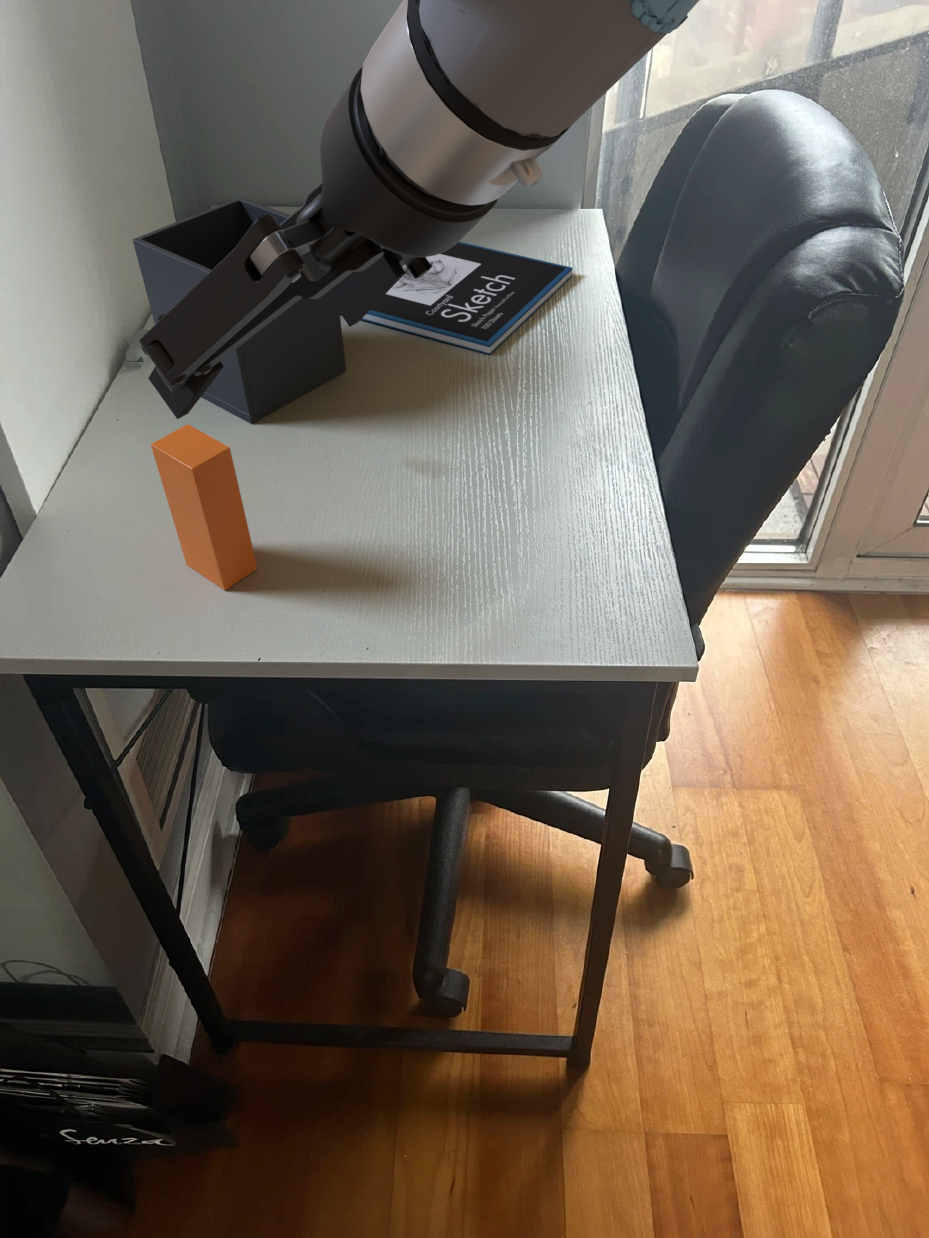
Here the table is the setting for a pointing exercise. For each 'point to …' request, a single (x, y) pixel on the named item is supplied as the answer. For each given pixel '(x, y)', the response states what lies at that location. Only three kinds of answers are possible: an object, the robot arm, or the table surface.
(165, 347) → the robot arm
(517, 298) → the sketchbook
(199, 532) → the block
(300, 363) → the bin
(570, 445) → the table surface
